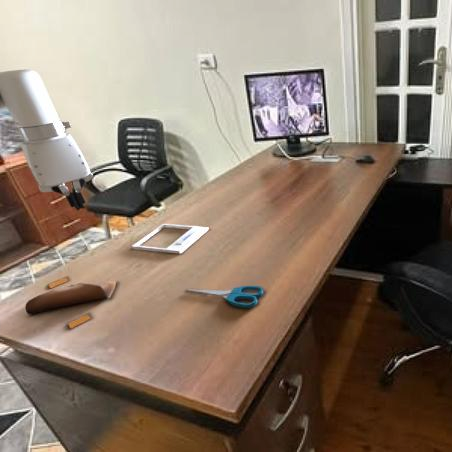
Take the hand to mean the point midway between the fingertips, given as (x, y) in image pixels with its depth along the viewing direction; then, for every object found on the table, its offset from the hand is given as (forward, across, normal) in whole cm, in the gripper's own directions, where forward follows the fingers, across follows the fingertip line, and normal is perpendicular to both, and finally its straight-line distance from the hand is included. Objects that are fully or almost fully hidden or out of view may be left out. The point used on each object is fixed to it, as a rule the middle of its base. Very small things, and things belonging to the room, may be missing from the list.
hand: (79, 207), depth 85 cm
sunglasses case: (+22, +9, 0) cm, 24 cm away
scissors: (+22, -16, +30) cm, 41 cm away
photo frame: (+22, -20, -9) cm, 31 cm away
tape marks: (+22, +11, 0) cm, 25 cm away
